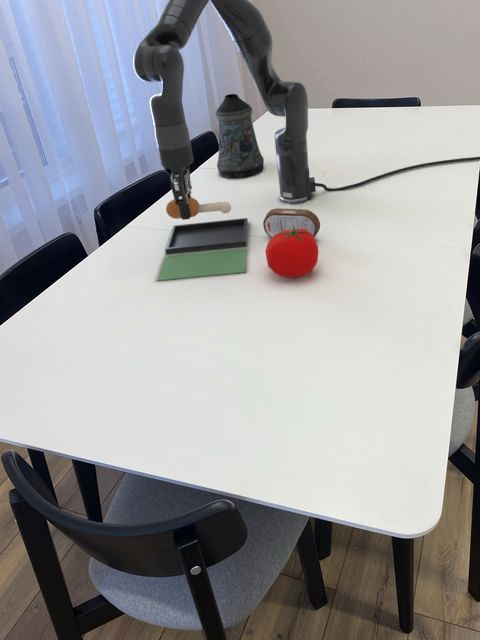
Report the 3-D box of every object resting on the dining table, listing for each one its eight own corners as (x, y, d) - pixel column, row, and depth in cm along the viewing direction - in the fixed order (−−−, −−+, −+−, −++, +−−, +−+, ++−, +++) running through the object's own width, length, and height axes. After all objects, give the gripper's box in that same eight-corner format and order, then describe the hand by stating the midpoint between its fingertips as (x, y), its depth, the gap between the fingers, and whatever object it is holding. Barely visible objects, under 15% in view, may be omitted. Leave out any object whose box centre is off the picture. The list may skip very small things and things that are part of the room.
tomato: (304, 289, 131) (300, 246, 125) (258, 280, 137) (253, 239, 131) (330, 263, 140) (328, 222, 134) (286, 256, 146) (282, 216, 140)
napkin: (247, 249, 151) (247, 248, 151) (245, 272, 141) (245, 271, 141) (165, 257, 153) (164, 256, 153) (157, 281, 142) (157, 280, 142)
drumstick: (232, 208, 141) (229, 190, 139) (231, 216, 138) (228, 197, 135) (169, 215, 142) (165, 197, 140) (166, 222, 139) (162, 204, 136)
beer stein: (238, 182, 194) (227, 104, 180) (204, 172, 207) (191, 99, 193) (274, 168, 202) (266, 92, 188) (239, 159, 215) (229, 87, 201)
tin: (321, 238, 152) (319, 208, 147) (318, 243, 149) (316, 213, 145) (267, 236, 157) (264, 207, 152) (263, 241, 154) (260, 211, 149)
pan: (248, 223, 165) (247, 217, 164) (246, 247, 152) (245, 241, 151) (174, 231, 167) (173, 225, 166) (166, 255, 154) (165, 249, 153)
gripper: (186, 150, 124) (199, 224, 134) (193, 132, 136) (205, 202, 145) (152, 154, 125) (168, 228, 134) (162, 136, 136) (176, 205, 146)
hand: (187, 214), depth 140 cm, fingers closed on drumstick, 4 cm apart
